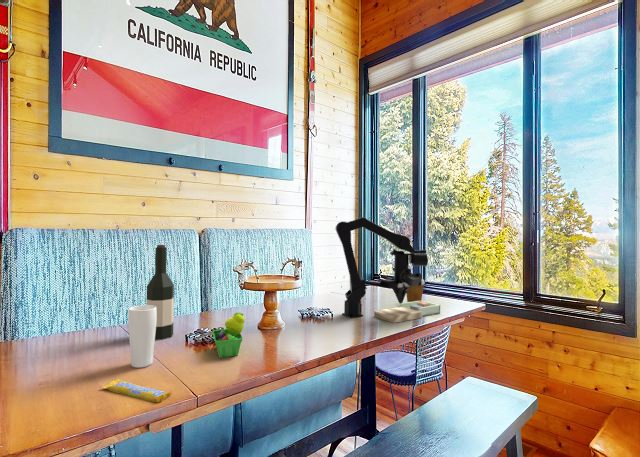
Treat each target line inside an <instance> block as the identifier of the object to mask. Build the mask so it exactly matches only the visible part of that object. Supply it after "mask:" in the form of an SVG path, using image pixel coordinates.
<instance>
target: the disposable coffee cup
mask: <svg viewBox="0 0 640 457" xmlns="http://www.w3.org/2000/svg"><path fill="white" fill-rule="evenodd" d="M425 283H426V282H425V280H424V279H422V285H419V286H410V287H412V288H410V289H409V290H408V291H407V292H406V301H407V302H414V301H423V300H422V299H423V292H424V285H425Z"/></svg>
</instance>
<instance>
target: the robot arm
mask: <svg viewBox="0 0 640 457" xmlns="http://www.w3.org/2000/svg"><path fill="white" fill-rule="evenodd" d="M361 228H363V229H364V230H367V231H369V232H371V233H373V234H375V235H376V236H378V237H381V238H383V239H385V240H386V241H387V242H388V243H389V244H391V245H392V246H394V247H395V248H396V249H395V248H393V249H392V250H391V251H390V252H389V255H392V256H394V267H392V269H391V270H392V271H393V273H394V276H393V277H391V279H389V278H387V279H384V278H383V279H381V280H380V281H379V287H382V288H386V289H392V291H393V292H394V294H395V298H396V299H397V301H398V304H399V305H400V304H401V303H404V300H405V296H407V294H406V292H407V291H408V290H409V289H410V288H412V287H410V286H419V285H422V277H423V275H422V273H420V272H418V273H413V272H412V270H411V269H412V268H409V264H411V266H412V267H427V266H428V264H429V258H428V254H427V250H426V249H418V250H417V249H415V248H414V247H413V246H412V245H411V239H410V238H409V237H408V236H406V235H403V234H400V233H396V232H393V231H391V230H389V229H386V228H384V227H383V226H381V225H379V224H376V223H375V222H373V221H371V220H369V219H367V217H363V216H362V217H359V218H357V219H354V220H350V221H340V222H337V224H336V225H335V232H336V234H337V237H338V238H339V241H340V242H341V246H342V249H343V253H344V254H343V255H344V257H345V262H346V266H347V270H348V275H349V289H348V291H346V292H345V293H344V295H345V298H346V300H344V306H343V307H344V312H343V313H341V315H343V316H345V317H347V318H349V319H352V318H360V317H363V316H364V315H363V314H362V298H364V297H365V295H366V293H367V292H366V291H367V289H368V288H367V287H366V280H365V278H364V277H360V274H359V270H358V266H357V263H356V258H355V253H354V248H353V245H352V231H355V230H357V229H361ZM397 249H398V250H397Z"/></svg>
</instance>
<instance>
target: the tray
mask: <svg viewBox="0 0 640 457" xmlns="http://www.w3.org/2000/svg"><path fill="white" fill-rule="evenodd" d="M417 302H425V303H429V306H427V307H421V308H418V311H420V312H422V317H426V316H432V315H439V314H440V313H441V304H437V303H433V302H429V301H425V300H421V301H414V302H403V303H401V304H400V303H399V307H405V308H409V309H410V305H417Z"/></svg>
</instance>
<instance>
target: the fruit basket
mask: <svg viewBox="0 0 640 457" xmlns="http://www.w3.org/2000/svg"><path fill="white" fill-rule="evenodd" d="M245 320H246V318H245V317H244V313H242V312H241V311H238V312H235V313H234V314H233V316H231V317H230V318H228V319H227V320H226V321H225V322H224V326H225V328H222V329H214V330H212V335H213V340H214V343H215V347H216V350H217V354H218V357H219V358H227V357H235V356H239V352H240V349H241V344H242V342H243V339H244V338H243V336H242V332H243V330H244V327H245V325H244V324H245Z"/></svg>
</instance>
